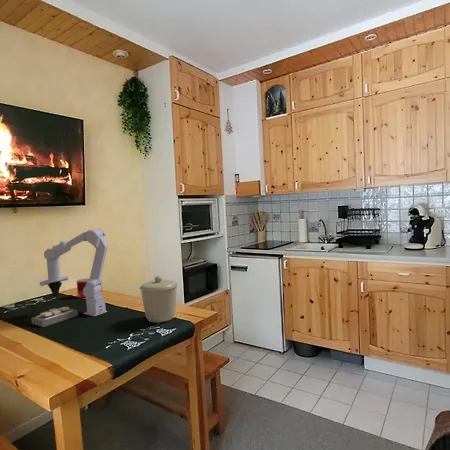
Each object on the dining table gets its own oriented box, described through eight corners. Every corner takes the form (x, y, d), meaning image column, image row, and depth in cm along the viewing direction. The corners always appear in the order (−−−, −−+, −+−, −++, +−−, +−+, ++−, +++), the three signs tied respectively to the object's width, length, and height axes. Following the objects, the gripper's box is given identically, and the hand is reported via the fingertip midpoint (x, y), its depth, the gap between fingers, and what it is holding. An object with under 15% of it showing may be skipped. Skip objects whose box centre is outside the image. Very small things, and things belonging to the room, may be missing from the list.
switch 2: (60, 313, 167) (60, 310, 167) (54, 314, 165) (55, 312, 164) (54, 309, 170) (54, 307, 170) (49, 311, 167) (49, 309, 167)
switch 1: (51, 314, 163) (51, 312, 163) (45, 316, 161) (45, 314, 161) (46, 313, 166) (46, 311, 166) (40, 315, 164) (39, 313, 164)
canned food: (88, 298, 206) (87, 280, 206) (75, 299, 206) (74, 281, 206) (93, 295, 214) (92, 278, 213) (81, 295, 214) (80, 278, 213)
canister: (163, 311, 173) (160, 270, 172) (187, 317, 162) (185, 274, 161) (133, 321, 159) (130, 277, 158) (158, 328, 148) (155, 281, 147)
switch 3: (69, 308, 171) (68, 306, 171) (63, 310, 168) (63, 308, 168) (63, 309, 174) (63, 306, 174) (57, 310, 171) (57, 308, 171)
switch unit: (77, 315, 172) (77, 309, 172) (42, 327, 157) (42, 320, 157) (66, 313, 178) (66, 307, 178) (31, 323, 163) (31, 317, 162)
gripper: (62, 268, 184) (64, 292, 185) (35, 273, 172) (37, 299, 173) (69, 268, 180) (71, 293, 181) (43, 274, 168) (45, 300, 169)
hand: (55, 296), depth 177 cm, fingers closed
